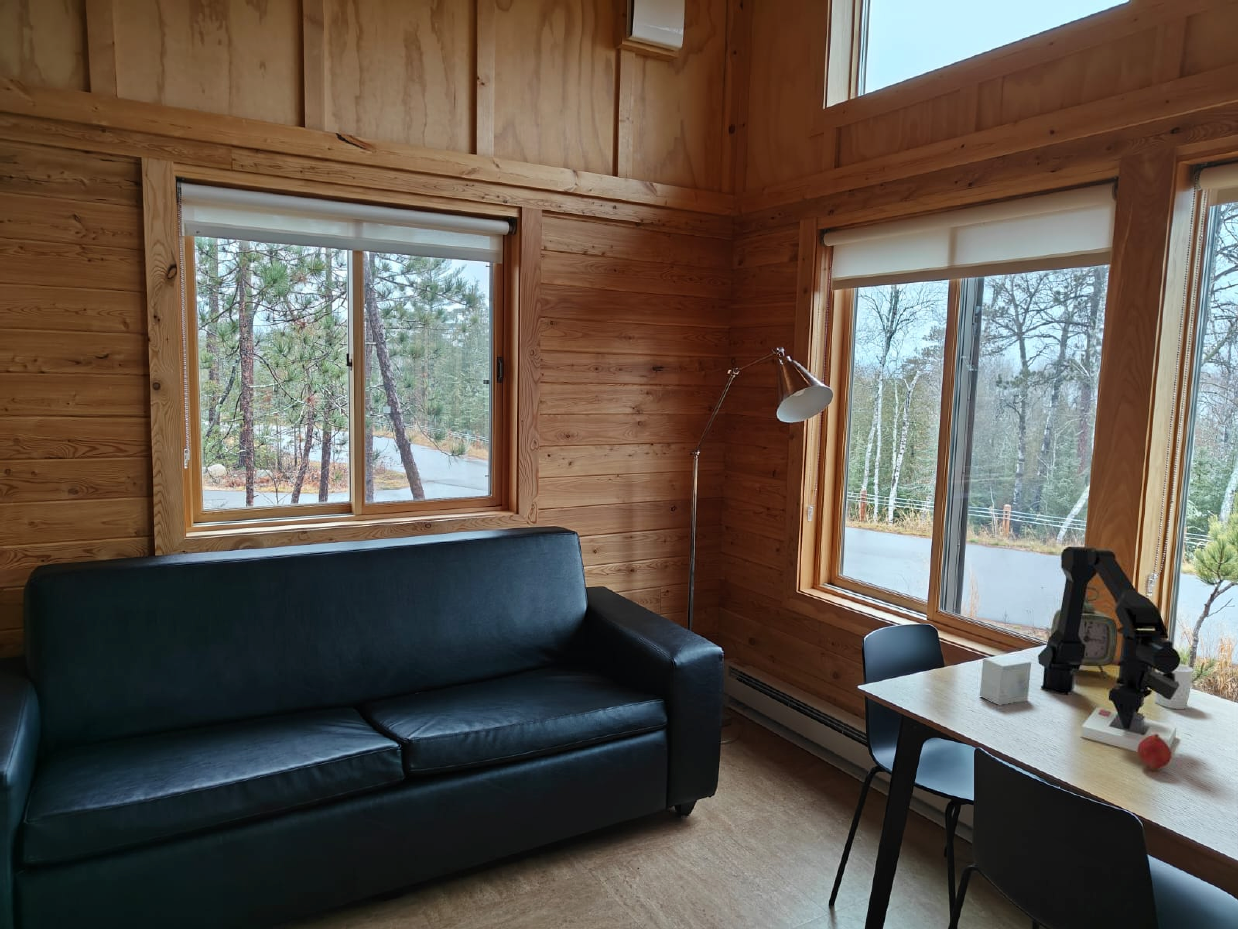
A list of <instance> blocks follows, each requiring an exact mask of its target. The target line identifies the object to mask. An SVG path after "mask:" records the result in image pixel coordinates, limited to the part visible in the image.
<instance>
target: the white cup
mask: <svg viewBox="0 0 1238 929" xmlns="http://www.w3.org/2000/svg"><path fill="white" fill-rule="evenodd" d="M1154 671H1156V672H1158V673H1159V672H1160V671H1158V670H1156V669H1154ZM1193 672H1194V668H1192V667H1191V666H1189V665H1186V664H1183V663H1180V664H1179V666H1178V667H1177V669H1176V670H1174V671H1173V672H1172V673H1174V674H1175V679H1176V682H1177V681H1178V683H1179V687H1178V689H1177V690H1176V692H1175V694H1174V695H1173V697H1172V698H1171V700H1168V699H1166V698H1164V697H1163V696H1162V695H1160V694H1158V693H1156V692H1155V691H1154V693H1155V694H1154V695H1155V696H1154V697H1155V698H1154V700H1155V703H1156V704H1157V705H1160V706H1162V707H1166V708H1170V709H1173V708H1176V709H1175V710H1184V708H1185V709H1186V708H1188V702H1189V698H1190V692H1191V685H1192V679H1193ZM1160 673H1161V674H1163V672H1160Z"/></svg>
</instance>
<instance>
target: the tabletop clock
mask: <svg viewBox="0 0 1238 929" xmlns="http://www.w3.org/2000/svg"><path fill="white" fill-rule="evenodd" d="M1088 589H1090V590H1093V591H1095V592H1096V594H1097V596H1095V597H1092V598H1088V597H1089V596H1087V595H1086V597H1085V602H1084V608H1083V613H1082V619H1081V624H1080V630H1079V637H1080V639H1081V641H1082V643H1084V644H1085V646H1086V648H1085V652H1084V659H1083V660H1082V663H1081V666H1083V667H1084V666H1085V667H1097V668H1098V669H1099V670H1100V677H1103V678H1106V677H1107V676H1108V672H1107V671H1105V670H1104V669H1103V667H1105V666H1109V665H1111V664H1112V663H1113V661H1114V660H1115V657H1116V656H1115V655H1116V652H1117V647H1118V646H1117V645H1118V632H1117V629H1118V627H1117V623H1116V620H1115V619H1113V618H1111V617H1109V616H1108V615H1106V614H1104V613H1103V612H1101V611H1099V610H1096V608H1095V606H1094V604H1093V603H1091V602H1092V601H1095V600H1097V599H1099V597H1100V591H1099V590H1098V589H1097V588H1096V587H1094V586H1089V585H1087V590H1088ZM1060 611H1061V608H1060V609H1058V610H1056V612H1055V613H1054V615H1053V619H1052V623H1051V630H1050V636H1051V635H1052V634H1053V633H1054V632H1055V631H1056V630H1057V628H1058V623H1059V617H1060ZM1073 671H1078V670H1077V669H1073Z"/></svg>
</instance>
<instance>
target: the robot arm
mask: <svg viewBox="0 0 1238 929" xmlns="http://www.w3.org/2000/svg"><path fill="white" fill-rule="evenodd" d="M1060 568H1061V570H1062V572H1063V574H1064V575H1065V582H1064V583H1065V584H1064V589H1063V595H1062V600H1061V606H1060V609H1061V611H1060V617H1059V623H1058V628H1057V630H1056V631H1055V632H1054V633H1053V634H1052V635H1051V634H1050V636H1049V637H1048V640H1047V643H1046V646H1045V647H1044V649H1042V651H1041V652H1040V653H1039V654H1038V655H1037V660H1038V664H1039V665H1040V666H1042V667H1043V676H1042V677H1043V678H1042V679H1043V680H1042V685H1041V686H1040V689H1041V690H1045V691H1049V692H1052V693H1057V694H1062V695H1065V696H1067V695H1069V694H1070V693H1072V692H1073V691H1074V689H1075V679H1076V674H1075V673H1074V669H1077V670H1076V671H1079V670H1080V669H1081V666H1082V665H1081V663H1082V660H1083V659H1084V652H1085V648H1086V646H1085V644H1084V643H1082V641H1081V639H1080V637H1079V630H1080V624H1081V619H1082V613H1083V608H1084V602H1085V597H1086V596H1087V590H1088V589H1087V586H1089V582H1090V581H1092V579H1093V578H1095V577H1096V575H1097V574H1098V576H1099V578H1100V579H1101V580H1102V582H1103V583H1104V586H1105V587H1106V589H1107V590H1108V591H1109V594H1110V595H1111V596H1112V598H1113V600H1114V602H1115V608H1114V612H1115V615H1116V617H1117V618H1118V622H1119V623H1120V624H1121V627H1119V628H1117V633H1118V634H1121V635H1122V636H1121V647H1120V658H1119V660H1118V662H1117V666H1118V667H1119V668H1118V669H1119V672H1118V677H1117V678H1116V685H1114V686H1113V687H1111V689H1110V690H1109V691H1108V700H1109V701H1110V702H1111V703H1113V706H1114V709H1115V710H1116V712H1117V713H1118V715H1119V718H1120V720H1121V723H1122V725H1123V728H1125V729H1129V728H1130V725H1131V722H1132V719H1133V716H1134V713H1135V712H1138V713H1139V711H1140V708H1142V707H1143V706H1144V704H1145V698H1146V697H1147V698H1148V696H1150V695H1151V694H1152V692H1154V693H1155V692H1156V693H1158V694H1160V695H1162V696H1163V697H1164V698H1166V699H1168V700H1171V698H1172V697H1173V695H1174V694H1175V692H1176V690H1177V689H1178V687H1179V683H1178V681H1177V682H1176V679H1175V674H1174V673H1172V672H1173V671H1174V670H1176V669H1177V667H1178V666H1179V664H1181V663H1180V662H1181V657H1180V654H1179V651H1177V649H1176V648H1174V647H1173V642H1172V641H1170V640H1167V639H1169V634H1168V629H1167V626H1166V625H1165V623H1164V621H1163V617H1162V615H1161V612H1160V610H1159V609H1158V607H1157V606H1156V605H1155V603H1153V601H1151V600H1150V599H1149V598H1148V597H1147V596H1144V595H1143V594H1141V593H1140V592H1138V591H1137V589H1136V587H1135V586H1134V585H1133V583H1132V581H1131V580H1130V579H1129V577H1128V576H1127V575H1126V572H1124V570H1123V568H1122V567H1121V566H1120V564H1119V562H1118V561H1117V559H1116V554H1115V552H1114V551H1112V550H1109V549H1097V548H1095V547H1093V546H1066V547H1065V548H1063V550H1062V552H1061V553H1060ZM1155 670H1158V671H1160V672H1163V674H1161V673H1160V672H1159V673H1158V672H1156V671H1155Z"/></svg>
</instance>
